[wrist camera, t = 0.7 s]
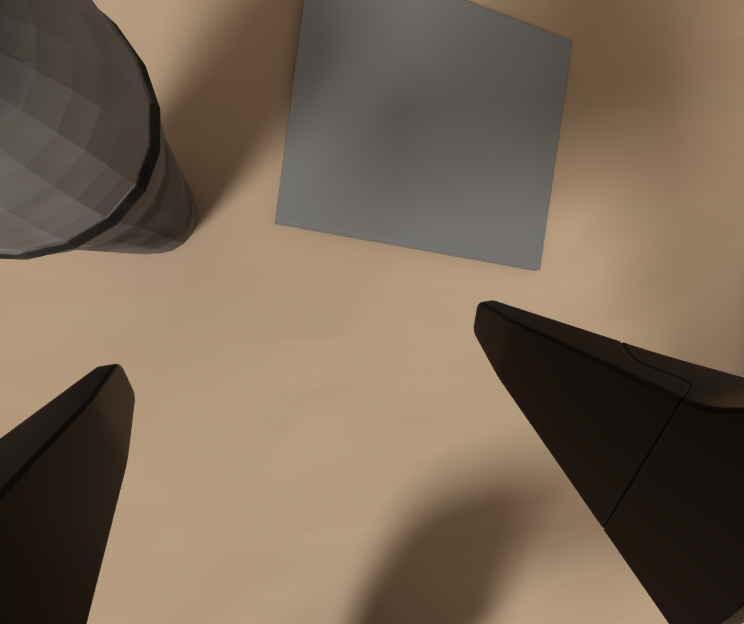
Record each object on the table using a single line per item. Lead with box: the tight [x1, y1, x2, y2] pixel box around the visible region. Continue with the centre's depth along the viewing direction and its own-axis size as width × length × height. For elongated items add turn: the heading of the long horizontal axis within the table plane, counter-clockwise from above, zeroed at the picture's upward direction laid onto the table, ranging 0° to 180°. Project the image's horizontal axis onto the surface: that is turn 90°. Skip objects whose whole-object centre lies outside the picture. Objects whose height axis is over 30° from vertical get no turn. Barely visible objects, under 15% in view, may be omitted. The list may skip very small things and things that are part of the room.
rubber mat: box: [275, 0, 572, 271], centre depth 24 cm, size 16×18×1 cm
